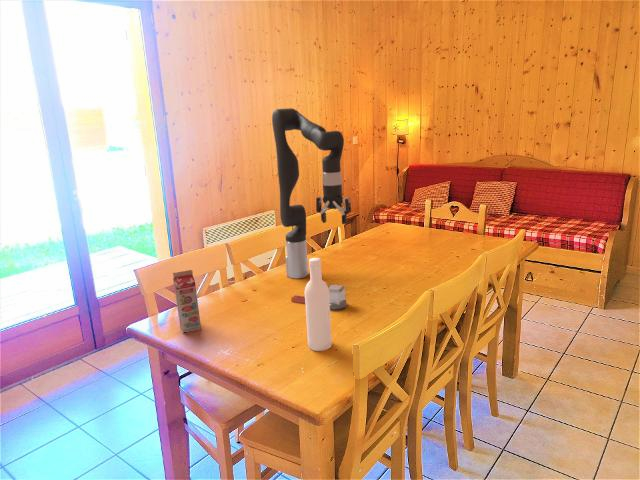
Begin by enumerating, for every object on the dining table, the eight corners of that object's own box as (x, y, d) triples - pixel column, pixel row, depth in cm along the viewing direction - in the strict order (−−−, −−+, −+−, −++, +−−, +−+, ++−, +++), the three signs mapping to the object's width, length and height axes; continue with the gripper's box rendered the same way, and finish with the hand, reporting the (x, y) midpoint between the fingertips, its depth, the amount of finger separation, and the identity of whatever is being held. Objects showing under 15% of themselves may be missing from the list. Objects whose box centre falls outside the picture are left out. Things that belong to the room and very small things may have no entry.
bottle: (331, 339, 165) (327, 254, 157) (332, 350, 157) (328, 262, 149) (307, 340, 165) (302, 256, 157) (308, 352, 157) (302, 264, 149)
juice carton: (180, 326, 181) (171, 270, 175) (198, 322, 184) (190, 267, 178) (182, 333, 175) (174, 275, 169) (201, 329, 178) (193, 272, 172)
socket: (326, 303, 189) (325, 289, 188) (332, 298, 194) (331, 284, 193) (339, 305, 187) (338, 290, 185) (345, 300, 192) (344, 285, 190)
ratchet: (288, 304, 196) (287, 290, 194) (298, 296, 203) (297, 283, 201) (341, 312, 186) (340, 297, 184) (349, 303, 193) (349, 289, 191)
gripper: (311, 184, 192) (314, 224, 196) (345, 185, 186) (346, 226, 190) (320, 181, 198) (322, 220, 203) (352, 182, 192) (354, 222, 197)
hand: (334, 223), depth 196 cm, fingers open, 8 cm apart
